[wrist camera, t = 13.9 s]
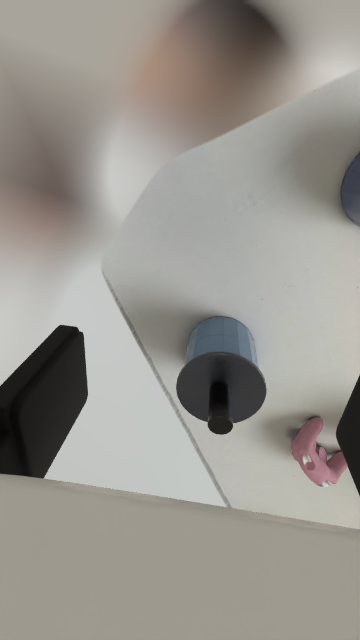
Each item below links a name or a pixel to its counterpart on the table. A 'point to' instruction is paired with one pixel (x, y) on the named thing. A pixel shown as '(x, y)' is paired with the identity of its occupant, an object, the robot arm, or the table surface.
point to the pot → (221, 339)
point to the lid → (221, 389)
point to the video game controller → (316, 455)
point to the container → (352, 191)
